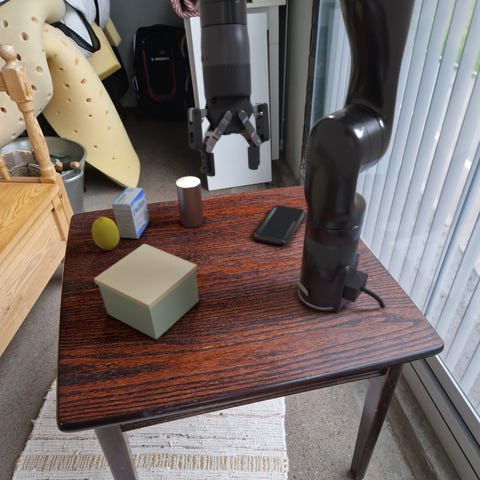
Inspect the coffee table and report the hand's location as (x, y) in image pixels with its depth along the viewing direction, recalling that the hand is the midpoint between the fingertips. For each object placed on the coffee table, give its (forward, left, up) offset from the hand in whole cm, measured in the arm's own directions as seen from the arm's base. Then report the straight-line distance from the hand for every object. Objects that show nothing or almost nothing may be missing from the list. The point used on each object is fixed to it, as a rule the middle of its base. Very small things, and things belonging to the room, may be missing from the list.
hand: (232, 172), depth 73 cm
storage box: (+6, +18, -21) cm, 28 cm away
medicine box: (+28, 0, -21) cm, 35 cm away
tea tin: (+19, -10, -21) cm, 30 cm away
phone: (0, -19, -21) cm, 28 cm away
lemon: (+27, +9, -21) cm, 35 cm away
